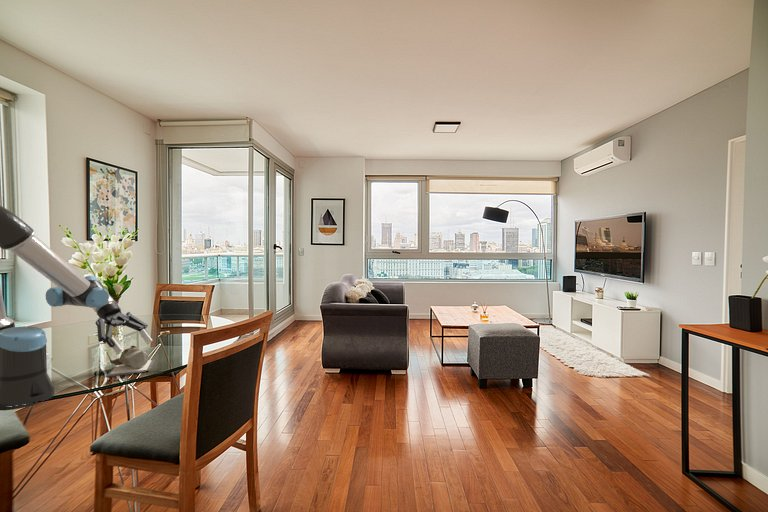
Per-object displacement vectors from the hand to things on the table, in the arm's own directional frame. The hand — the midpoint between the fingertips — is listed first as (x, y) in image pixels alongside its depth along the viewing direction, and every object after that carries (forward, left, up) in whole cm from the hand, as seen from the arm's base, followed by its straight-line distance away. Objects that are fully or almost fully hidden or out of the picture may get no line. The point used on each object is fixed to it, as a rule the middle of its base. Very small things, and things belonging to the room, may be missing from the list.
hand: (135, 347), depth 150 cm
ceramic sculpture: (-2, +2, -8) cm, 9 cm away
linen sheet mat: (-2, +1, -9) cm, 9 cm away
